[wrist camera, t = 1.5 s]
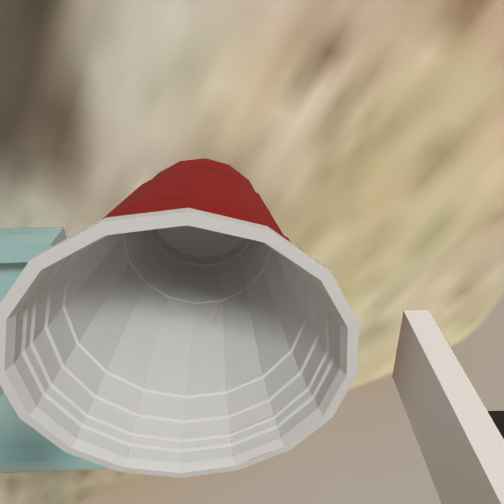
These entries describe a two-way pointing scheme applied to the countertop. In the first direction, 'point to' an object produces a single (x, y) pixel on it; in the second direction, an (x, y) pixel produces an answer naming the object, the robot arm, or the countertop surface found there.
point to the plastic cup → (178, 332)
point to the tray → (3, 414)
